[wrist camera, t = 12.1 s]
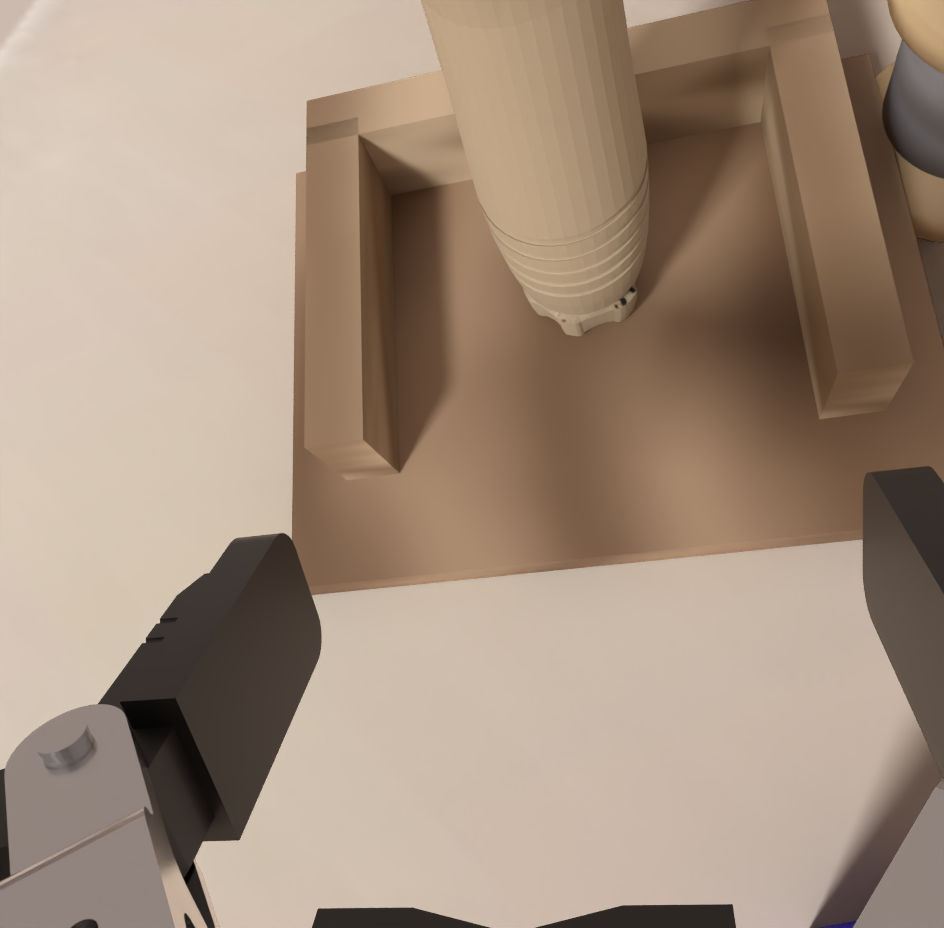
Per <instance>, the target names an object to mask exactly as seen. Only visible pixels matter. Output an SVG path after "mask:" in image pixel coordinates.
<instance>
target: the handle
mask: <svg viewBox="0 0 944 928" xmlns="http://www.w3.org/2000/svg"><path fill="white" fill-rule="evenodd" d="M421 2H422V5H423V9H424V12H425V15H426V19H427V22H428V25H429V29H430V32H431V35H432V39H433V42H434V45H435V49H436V52H437V55H438V59H439V62H440V65H441V69H442V72H443V75H444V79H445V82H446V85H447V89H448V92H449V96H450V99H451V103H452V107H453V110H454V114H455V118H456V121H457V125H458V129H459V132H460V136H461V139H462V143H463V147H464V150H465V154H466V158H467V161H468V165H469V169H470V172H471V176H472V179H473V183H474V187H475V190H476V193H477V196H478V199H479V202H480V204H481V207H482V210H483V213H484V216H485V218H486V220H487V223H488V226H489V228H490V231H491V233H492V235H493V238H494V240H495V242H496V244H497V246H498V248H499V250H500V252H501V253H502V255H503V257H504V259H505V261H506V262H507V264H508V266H509V268H510V270H511V271H512V273H513V274H514V276H515V277H516V279H517V280H518V282H519V283H520V284H521V286H522V287H523V290H524V293H525V295H526V297H527V299H528V301H529V302H530V304H531V306H532V307H533V309H534V310H535V311H536V312H537V314H538V315H540V316H548V317H550V318H552V319H554V320H555V321H556V322H558V323H559V324H560V325H561V327H562V329H563V331H564V332H565V333H566V334H567V335H571V336H582V335H584V333H585V332H586V331H588V330H589V329H591V328H593V327H595V326H597V325H599V324H603V323H606V322H612V321H615V322H621V321H623V320H625V319H626V318H627V317H628V316H629V315H630V314H631V312H632V311H633V309H634V307H635V304H636V300H637V288H636V286H635V281H636V279H637V277H638V275H639V272H640V270H641V267H642V264H643V259H644V255H645V249H646V243H647V235H648V223H649V170H648V155H647V143H646V137H645V132H644V126H643V120H642V114H641V108H640V102H639V96H638V91H637V85H636V79H635V73H634V67H633V61H632V55H631V49H630V44H629V38H628V31H627V25H626V18H625V11H624V5H623V0H421Z"/></svg>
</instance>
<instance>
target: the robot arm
mask: <svg viewBox="0 0 944 928" xmlns="http://www.w3.org/2000/svg"><path fill="white" fill-rule="evenodd" d="M863 583H864V591H865V597H866V602H867V606H868V610H869V614H870V617H871V619H872V622H873V624H874V626H875V629H876V631H877V633H878V635H879V638H880V640H881V642H882V644H883V646H884V649H885V651H886V653H887V655H888V657H889V660H890V662H891V664H892V666H893V669H894V671H895V673H896V675H897V677H898V680H899V682H900V684H901V686H902V689H903V691H904V693H905V695H906V697H907V700H908V702H909V704H910V706H911V708H912V711H913V713H914V715H915V717H916V720H917V722H918V724H919V726H920V728H921V731H922V733H923V735H924V737H925V740H926V742H927V744H928V746H929V748H930V751H931V753H932V755H933V757H934V759H935V762H936V764H937V766H938V768H939V771H940V773H941V775H942V777H943V779H942V780H941V781H940V782H939V783H938V785H937V786H936V787H935V789H934V790H933V792H932V794H931V795H930V797H929V799H928V800H927V802H926V804H925V805H924V807H923V809H922V810H921V812H920V814H919V816H918V817H917V819H916V821H915V822H914V824H913V826H912V828H911V829H910V831H909V833H908V834H907V836H906V838H905V839H904V841H903V843H902V845H901V846H900V848H899V850H898V851H897V853H896V855H895V857H894V858H893V860H892V862H891V863H890V865H889V867H888V868H887V870H886V872H885V874H884V875H883V877H882V879H881V880H880V882H879V884H878V886H877V887H876V889H875V891H874V892H873V894H872V896H871V897H870V899H869V901H868V903H867V904H866V906H865V908H864V909H863V911H862V913H861V915H860V916H859V918H858V920H857V921H856V923H855V925H854V926H853V928H944V482H943V481H942V480H941V478H940V477H939V476H938V474H937V473H936V472H935V470H934V469H933V468H932V467H930V466H924V467H914V468H905V469H896V470H886V471H877V472H868V473H867V474H866V475H865V478H864V483H863ZM320 650H321V625H320V620H319V616H318V613H317V610H316V607H315V604H314V601H313V598H312V595H311V592H310V589H309V586H308V584H307V581H306V578H305V575H304V572H303V569H302V566H301V563H300V560H299V557H298V554H297V551H296V548H295V546H294V543H293V541H292V540H291V538H290V537H289V536H288V535H286V534H284V533H280V534H270V535H261V536H251V537H242V538H236V539H234V540H233V541H232V542H231V543H230V544H229V546H228V547H227V549H226V550H225V552H224V553H223V554H222V556H221V557H220V559H219V560H218V562H217V563H216V564H215V566H214V567H213V569H212V570H211V572H210V573H208V574H204V575H203V576H201V577H200V578H199V579H197V580H196V581H195V582H194V583H192V584H191V585H190V586H189V587H187V588H186V589H185V590H183V591H182V592H181V593H180V594H178V595H177V596H176V598H175V599H174V600H173V602H172V603H171V605H170V606H169V607H168V609H167V610H166V611H165V613H164V614H163V616H162V617H161V618H160V624H156V625H155V626H154V628H153V629H152V631H151V632H150V633H149V635H148V636H147V637H146V643H142V644H141V646H140V647H139V648H138V650H137V651H136V653H135V654H134V655H133V657H132V658H131V659H130V661H129V662H128V664H127V665H126V666H125V668H124V669H123V670H122V672H121V673H120V674H119V676H118V677H117V679H116V680H115V681H114V683H113V684H112V685H111V687H110V688H109V690H108V691H107V692H106V694H105V695H104V696H103V698H102V699H101V701H100V702H99V703H98V704H96V705H89V706H84V707H80V708H77V709H74V710H71V711H68V712H66V713H63V714H61V715H59V716H57V717H55V718H53V719H51V720H50V721H48V722H46V723H45V724H43V725H42V726H40V727H39V728H38V729H36V730H35V731H33V732H32V733H31V734H30V735H29V736H28V737H26V738H25V739H24V740H23V741H22V742H21V743H20V744H19V746H18V747H17V748H16V749H15V751H14V752H13V753H12V755H11V756H10V758H9V760H8V762H7V765H6V768H5V769H2V770H0V928H220V926H219V923H218V920H217V917H216V914H215V911H214V908H213V905H212V902H211V899H210V896H209V893H208V890H207V886H206V883H205V880H204V877H203V874H202V872H201V870H200V868H199V866H198V864H197V862H196V860H195V856H196V854H197V852H198V850H199V848H200V846H201V844H202V842H203V841H230V840H240V838H241V835H242V833H243V831H244V828H245V826H246V824H247V822H248V819H249V817H250V815H251V812H252V810H253V808H254V806H255V803H256V801H257V799H258V796H259V794H260V792H261V790H262V787H263V785H264V783H265V780H266V778H267V776H268V774H269V771H270V769H271V767H272V764H273V762H274V760H275V758H276V755H277V753H278V751H279V748H280V746H281V744H282V742H283V739H284V737H285V735H286V732H287V730H288V728H289V726H290V723H291V721H292V719H293V716H294V714H295V712H296V710H297V707H298V705H299V703H300V700H301V698H302V696H303V694H304V691H305V689H306V687H307V684H308V682H309V680H310V678H311V675H312V673H313V671H314V668H315V666H316V664H317V662H318V659H319V655H320ZM312 928H489V927H485V926H481V925H477V924H473V923H470V922H466V921H462V920H458V919H454V918H450V917H446V916H443V915H439V914H435V913H431V912H427V911H423V910H419V909H415V908H332V909H318V910H317V913H316V917H315V920H314V923H313V926H312ZM536 928H736V925H735V918H734V911H733V905H732V904H729V905H630V906H619V907H615V908H611V909H607V910H603V911H599V912H595V913H592V914H588V915H584V916H580V917H576V918H572V919H568V920H564V921H560V922H556V923H552V924H548V925H544V926H540V927H536Z"/></svg>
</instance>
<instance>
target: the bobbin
mask: <svg viewBox="0 0 944 928" xmlns="http://www.w3.org/2000/svg"><path fill="white" fill-rule="evenodd" d="M887 1H888V7H889V12H890V15H891V18H892V21H893V24H894V26H895V28H896V30H897V31H898V33H899V35H900V37H901V38H902V42H901V45H900V48H899V51H898V55H897V58H896V61H895V62H894V63H893V64H891V65H889V66H888V67H887V68H886V69H884V70H883V71H882V72H881V73H879V74H878V75H877V76H876V77H875V79H876V83H877V87H878V91H879V95H880V99H881V103H882V119H883V125H884V129H885V132H886V135H887V137H888V139H889V141H890V142H891V144H892V146H893V150H894V154H895V158H896V162H897V165H898V169H899V173H900V177H901V181H902V185H903V189H904V193H905V197H906V201H907V205H908V209H909V213H910V217H911V220H912V224H913V228H914V232H915V236H916V237H917V238H921V239H926V240H930V241H936V242H944V0H887Z"/></svg>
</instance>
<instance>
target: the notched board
mask: <svg viewBox="0 0 944 928" xmlns="http://www.w3.org/2000/svg"><path fill="white" fill-rule="evenodd" d="M627 31H628V38H629V44H630V49H631V55H632V61H633V67H634V73H635V79H636V85H637V91H638V96H639V102H640V108H641V114H642V120H643V126H644V132H645V137H646V143H647V155H648V170H649V223H648V235H647V243H646V249H645V255H644V259H643V264H642V267H641V270H640V272H639V275H638V277H637V279H636V281H635V286H636V288H637V300H636V304H635V307H634V309H633V311H632V312H631V314H630V315H629V316H628V317H627V318H626V319H625V320H623V321H621V322H615V321H612V322H606V323H603V324H599V325H597V326H595V327H593V328H591V329H589V330H588V331H586V332H585V333H584V335H582V336H571V335H567V334H566V333H565V332H564V331H563V329H562V327H561V325H560V324H559V323H558V322H556V321H555V320H554V319H552V318H550V317H548V316H540V315H538V314H537V312H536V311H535V310H534V309H533V307H532V306H531V304H530V302H529V301H528V299H527V297H526V295H525V293H524V290H523V287H522V286H521V284H520V283H519V282H518V280H517V279H516V277H515V276H514V274H513V273H512V271H511V270H510V268H509V266H508V264H507V262H506V261H505V259H504V257H503V255H502V253H501V252H500V250H499V248H498V246H497V244H496V242H495V240H494V238H493V235H492V233H491V231H490V228H489V226H488V223H487V220H486V218H485V216H484V213H483V210H482V207H481V204H480V202H479V199H478V196H477V193H476V190H475V187H474V183H473V179H472V176H471V172H470V169H469V165H468V161H467V158H466V154H465V150H464V147H463V143H462V139H461V136H460V132H459V129H458V125H457V121H456V118H455V114H454V110H453V107H452V103H451V99H450V96H449V92H448V89H447V85H446V82H445V79H444V75H443V72H442V70H441V71H437V72H432V73H428V74H423V75H419V76H415V77H410V78H406V79H401V80H397V81H393V82H388V83H384V84H379V85H375V86H371V87H366V88H362V89H357V90H353V91H349V92H344V93H340V94H335V95H331V96H327V97H322V98H318V99H313V100H309V101H307V143H306V172H301V173H296V242H295V329H294V415H293V502H292V541H293V543H294V546H295V548H296V551H297V554H298V557H299V560H300V563H301V566H302V569H303V572H304V575H305V578H306V581H307V584H308V586H309V589H310V592H311V595H315V594H325V593H335V592H345V591H355V590H365V589H375V588H385V587H395V586H404V585H414V584H424V583H434V582H444V581H454V580H464V579H474V578H484V577H494V576H503V575H513V574H523V573H533V572H543V571H553V570H563V569H573V568H583V567H592V566H602V565H612V564H622V563H632V562H642V561H652V560H662V559H672V558H681V557H691V556H701V555H711V554H721V553H731V552H741V551H751V550H761V549H770V548H780V547H790V546H800V545H810V544H820V543H830V542H840V541H850V540H859V539H863V483H864V478H865V475H866V474H867V473H868V472H877V471H886V470H896V469H905V468H914V467H924V466H930V467H932V468H933V469H934V470H935V472H936V473H937V474H938V476H939V477H940V478H941V480H942V481H943V482H944V346H943V342H942V338H941V334H940V330H939V326H938V323H937V319H936V315H935V311H934V307H933V303H932V299H931V295H930V291H929V287H928V283H927V279H926V275H925V272H924V268H923V264H922V260H921V256H920V252H919V248H918V244H917V240H916V236H915V232H914V228H913V224H912V220H911V217H910V213H909V209H908V205H907V201H906V197H905V193H904V189H903V185H902V181H901V177H900V173H899V169H898V165H897V162H896V158H895V154H894V150H893V146H892V144H891V142H890V141H889V139H888V137H887V135H886V132H885V129H884V125H883V119H882V103H881V99H880V95H879V91H878V87H877V83H876V79H875V75H874V71H873V67H872V63H871V59H870V56H869V54H865V55H860V56H856V57H851V58H846V59H840V54H839V50H838V46H837V42H836V38H835V34H834V29H833V25H832V21H831V17H830V13H829V9H828V5H827V0H750V1H745V2H741V3H736V4H732V5H728V6H723V7H719V8H714V9H710V10H706V11H701V12H697V13H692V14H688V15H683V16H679V17H675V18H670V19H666V20H661V21H657V22H653V23H648V24H644V25H639V26H635V27H631V28H627Z"/></svg>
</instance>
